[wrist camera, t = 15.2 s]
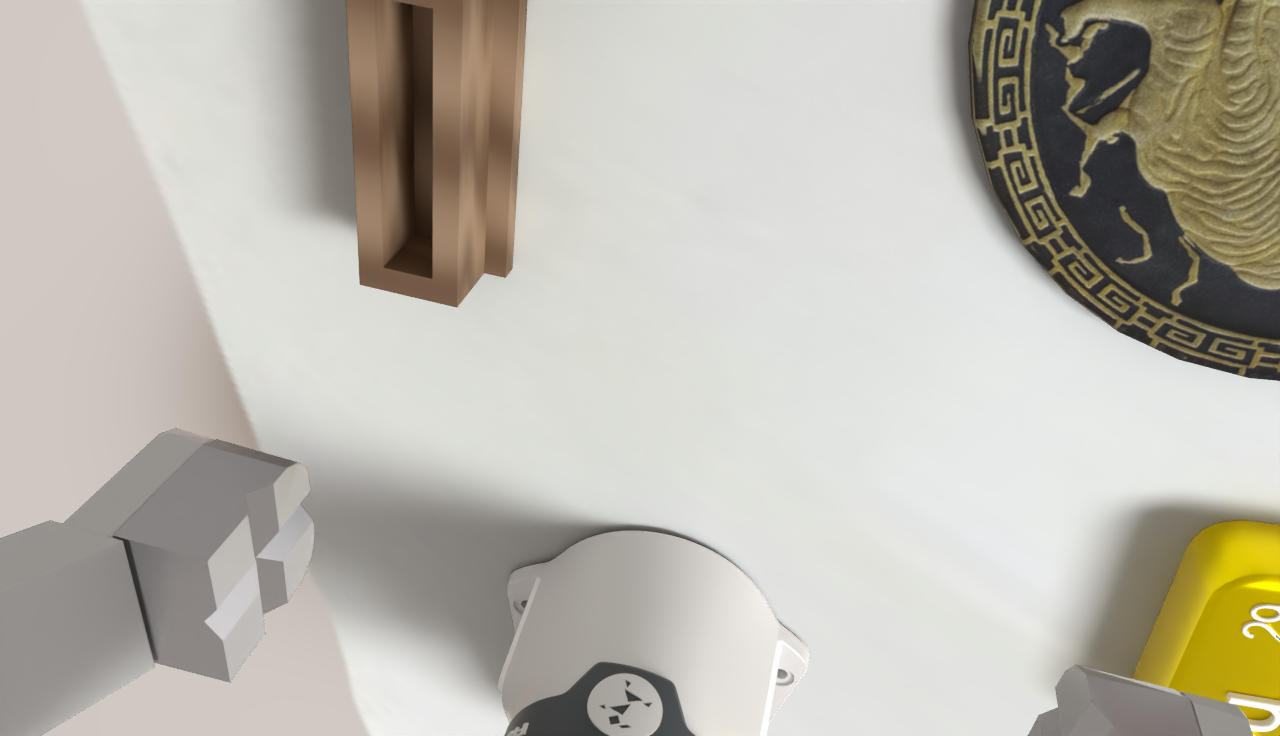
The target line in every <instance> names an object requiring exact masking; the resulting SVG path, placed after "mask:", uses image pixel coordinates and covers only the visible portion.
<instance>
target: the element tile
mask: <svg viewBox="0 0 1280 736" xmlns="http://www.w3.org/2000/svg"><path fill="white" fill-rule="evenodd" d="M1132 679H1135V680H1139V681H1143V682H1147V683H1151V684H1155V685H1159V686H1163V687H1167V688H1171V689H1174V690H1176V691H1178V692H1186V693H1190V694H1194V695H1198V696H1202V697H1206V698H1210V699H1214V700H1218V701H1222V702H1226V703H1230V704H1234V705H1237V706H1238V707H1239V708H1240V709H1241V711H1242V712H1243V713H1244V714H1245V715H1246V717H1247V719H1248V722H1249V725H1250V728H1251V731H1252V733H1253V736H1280V525H1277V524H1270V523H1262V522H1255V521H1248V520H1235V521H1228V522H1221V523H1217V524H1214V525H1212V526H1210V527H1207V528H1205V529H1203V530H1202V531H1201V532H1200V533H1199V534H1197V535H1196V536H1195V537H1194V538H1193V539H1192V540H1191V542H1190V543H1189V545H1188V546H1187V548H1186V551H1185V553H1184V556H1183V558H1182V560H1181V563H1180V565H1179V567H1178V570H1177V572H1176V575H1175V577H1174V579H1173V582H1172V584H1171V587H1170V589H1169V591H1168V594H1167V596H1166V599H1165V601H1164V603H1163V606H1162V608H1161V611H1160V613H1159V615H1158V618H1157V620H1156V622H1155V625H1154V627H1153V630H1152V632H1151V634H1150V637H1149V639H1148V642H1147V644H1146V646H1145V649H1144V651H1143V654H1142V656H1141V658H1140V661H1139V663H1138V666H1137V668H1136V670H1135V673H1134V675H1133V677H1132Z"/></svg>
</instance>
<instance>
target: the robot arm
mask: <svg viewBox="0 0 1280 736" xmlns="http://www.w3.org/2000/svg"><path fill="white" fill-rule="evenodd" d="M309 492H310V484H309V477H308V470H307V467H305V466H303V465H301V464H300V463H298V462H294V461H291V460H287V459H284V458H280V457H277V456H273V455H270V454H266V453H263V452H259V451H256V450H253V449H249V448H245V447H242V446H239V445H235V444H232V443H228V442H224V441H221V440H218V439H216V440H215V439H211V438H208V437H205V436H201V435H198V434H194V433H190V432H187V431H183V430H180V429H177V428H175V429H171V430H169V431H166V432H163V433H160V434H159V435H158V436H157V437H156V438H155V439H154V440H153V441H151V442H150V443H149V444H148V445H147V446H146V447H145V448H144V449H143V450H142V451H141V452H140V453H138V455H136V456H135V457H134V458H133V459H132V460H131V461H130V462H129V463H128V464H127V465H125V466H124V467H123V468H122V469H121V470H120V471H119V472H118V473H117V474H116V475H115V476H114V477H113V478H111V479H110V480H109V481H108V482H107V483H106V484H105V485H104V486H103V487H102V488H101V489H100V490H99V491H97V492H96V493H95V494H94V495H93V496H92V497H91V498H90V499H89V500H88V501H87V502H86V503H85V504H84V505H82V506H81V507H80V508H79V509H78V510H77V511H76V512H75V513H74V514H73V515H72V516H70V517H69V518H68V519H67V520H66V521H65V522H64V523H63V524H62V523H58V522H54V521H47V522H44V523H41V524H39V525H36V526H33V527H30V528H28V529H25V530H22V531H19V532H16V533H14V534H11V535H8V536H6V537H3V538H0V736H41V735H43V734H45V733H46V732H48V731H50V730H51V729H53V728H55V727H56V726H58V725H60V724H61V723H63V722H65V721H66V720H68V719H70V718H71V717H73V716H75V715H76V714H78V713H80V712H81V711H83V710H85V709H86V708H88V707H90V706H91V705H93V704H95V703H96V702H98V701H100V700H102V699H103V698H105V697H107V696H108V695H110V694H112V693H113V692H115V691H117V690H118V689H120V688H122V687H123V686H125V685H127V684H128V683H130V682H132V681H133V680H135V679H137V678H138V677H140V676H141V675H143V674H145V673H147V672H148V671H150V670H152V669H153V668H154V667H155V664H154V663H158V664H161V665H166V666H169V667H173V668H177V669H181V670H184V671H188V672H192V673H196V674H200V675H204V676H207V677H211V678H215V679H219V680H223V681H227V682H231V681H232V680H233V678H234V677H235V675H236V674H237V672H238V671H239V670H240V668H241V667H242V666H243V664H244V663H245V661H246V660H247V659H248V657H249V656H250V654H251V653H252V652H253V650H254V649H255V648H256V646H257V645H258V643H259V642H260V641H261V639H262V638H263V637H264V635H265V625H264V617H263V614H265V613H267V612H269V611H271V610H273V609H275V608H277V607H279V606H281V605H283V604H285V603H288V601H289V600H290V598H291V597H292V596H293V594H294V593H295V591H296V590H297V588H298V587H299V585H300V584H301V582H302V580H303V578H304V575H305V572H306V570H307V568H308V565H309V563H310V560H311V558H312V552H313V545H314V538H315V536H314V523H313V520H312V518H311V517H310V516H309V515H308V513H307V512H306V511H305V509H304V508H303V507H302V505H301V502H302V501H303V500H304V499H305V497H306V496H307V495H308V493H309ZM507 595H508V600H509V605H510V610H511V615H512V620H513V625H514V630H515V637H514V639H513V642H512V645H511V647H510V650H509V653H508V655H507V658H506V661H505V663H504V666H503V669H502V672H501V674H500V677H499V681H498V687H497V689H498V691H499V692H500V693H501V694H502V704H503V708H504V711H505V714H506V716H507V718H508V721H509V723H510V724H509V726H508V728H507V731H506V733H505V736H766V732H767V727H768V724H769V723H770V721H771V720H772V718H773V717H774V716H775V714H776V713H777V711H778V710H779V709H780V707H781V706H782V704H783V703H784V702H785V700H786V699H787V698H788V696H789V695H790V693H791V692H792V691H793V689H794V688H795V686H796V685H797V684H798V682H799V681H800V680H801V678H802V677H803V675H804V674H805V672H806V670H807V667H808V663H809V659H810V652H809V650H808V648H807V647H806V646H805V645H804V644H803V642H801V641H800V640H799V639H798V638H797V637H796V636H795V635H793V634H792V633H791V632H790V631H789V630H787V629H786V628H785V627H783V626H782V625H781V624H780V623H779V622H778V620H777V619H776V618H775V616H774V614H773V613H772V611H771V609H770V607H769V605H768V603H767V602H766V600H765V598H764V596H763V595H762V593H761V592H760V591H759V589H758V588H757V587H756V585H755V584H754V583H753V582H752V581H751V580H750V579H749V578H748V577H747V576H746V575H745V574H744V573H743V572H742V571H741V570H740V569H739V568H737V567H736V566H735V565H733V564H732V563H731V562H729V561H728V560H726V559H725V558H724V557H722V556H720V555H719V554H717V553H715V552H713V551H711V550H709V549H707V548H705V547H703V546H701V545H699V544H696V543H694V542H691V541H688V540H685V539H682V538H679V537H676V536H672V535H667V534H663V533H657V532H649V531H615V532H608V533H603V534H599V535H595V536H592V537H589V538H587V539H584V540H582V541H580V542H578V543H576V544H574V545H573V546H571V547H569V548H568V549H567V550H565V551H564V552H563V553H562V554H560V555H559V556H558V557H556V558H554V559H553V560H551V561H549V562H546V563H540V564H535V565H530V566H526V567H522V568H520V569H517V570H515V571H514V572H513V573H512V574H511V576H510V579H509V583H508V586H507ZM1055 690H1056V696H1057V703H1058V708H1055V709H1053V710H1050V711H1048V712H1045V713H1043V714H1041V715H1039V716H1038V718H1037V719H1036V721H1035V723H1034V725H1033V727H1032V729H1031V731H1030V733H1029V734H1028V736H1253V733H1252V731H1251V728H1250V725H1249V722H1248V719H1247V717H1246V715H1245V714H1244V713H1243V712H1242V711H1241V709H1240V708H1239V707H1238V706H1237V705H1234V704H1230V703H1226V702H1222V701H1218V700H1214V699H1210V698H1206V697H1202V696H1198V695H1194V694H1190V693H1186V692H1178V691H1176V690H1174V689H1171V688H1167V687H1163V686H1159V685H1155V684H1151V683H1147V682H1143V681H1139V680H1135V679H1131V678H1127V677H1123V676H1119V675H1115V674H1111V673H1107V672H1103V671H1099V670H1095V669H1091V668H1087V667H1083V666H1079V665H1074V666H1073V667H1071V668H1070V669H1068V670H1067V671H1065V673H1064V674H1063V676H1062V677H1061V679H1060V681H1059V682H1058V684H1057V686H1056V687H1055Z"/></svg>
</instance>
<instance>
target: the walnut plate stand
mask: <svg viewBox="0 0 1280 736" xmlns="http://www.w3.org/2000/svg"><path fill="white" fill-rule="evenodd" d="M346 7H347V27H348V48H349V69H350V90H351V111H352V131H353V152H354V173H355V194H356V215H357V235H358V256H359V277H360V285H364V286H368V287H372V288H377V289H381V290H385V291H389V292H394V293H398V294H402V295H406V296H411V297H415V298H419V299H423V300H428V301H432V302H436V303H440V304H445V305H449V306H453V307H458V305H459V304H460V303H461V302H462V300H463V299H464V298H465V297H466V295H467V294H468V293H469V292H470V290H471V289H472V288H473V286H474V285H475V284H476V283H477V281H478V280H479V279H480V278H481V276H482V275H483V274H484V273H487V274H491V275H496V276H500V277H504V278H506V276H507V275H508V274H509V272H510V271H511V270H512V265H513V247H514V229H515V211H516V193H517V175H518V158H519V140H520V122H521V104H522V86H523V68H524V50H525V32H526V14H527V0H346Z"/></svg>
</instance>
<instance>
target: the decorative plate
mask: <svg viewBox="0 0 1280 736" xmlns="http://www.w3.org/2000/svg"><path fill="white" fill-rule="evenodd" d="M968 48H969V70H970V92H971V114H972V119H973V123H974V127H975V131H976V134H977V138H978V142H979V145H980V149H981V153H982V157H983V160H984V164H985V168H986V172H987V175H988V179H989V182H990V185H991V187H992V189H993V191H994V192H995V194H996V196H997V198H998V200H999V202H1000V204H1001V205H1002V207H1003V209H1004V211H1005V213H1006V215H1007V217H1008V219H1009V220H1010V222H1011V224H1012V226H1013V228H1014V230H1015V232H1016V234H1017V235H1018V237H1019V239H1020V241H1021V242H1022V244H1023V245H1024V246H1025V247H1026V248H1027V250H1028V251H1029V252H1030V253H1031V254H1032V255H1033V256H1034V257H1035V259H1036V260H1037V261H1038V262H1039V263H1040V264H1041V265H1042V267H1043V268H1044V269H1045V270H1046V271H1047V272H1048V273H1049V275H1050V276H1051V277H1052V278H1053V279H1054V280H1055V281H1056V282H1057V284H1058V285H1059V286H1060V287H1061V288H1062V289H1063V290H1064V292H1065V293H1066V294H1068V295H1069V296H1070V297H1072V298H1073V299H1074V300H1076V301H1077V302H1079V303H1080V304H1081V305H1083V306H1084V307H1085V308H1087V309H1088V310H1089V311H1091V312H1092V313H1094V314H1095V315H1096V316H1098V317H1099V318H1100V319H1102V320H1103V321H1104V322H1106V323H1107V324H1109V325H1110V326H1111V327H1113V328H1114V329H1115V330H1117V331H1118V332H1120V333H1123V334H1125V335H1127V336H1129V337H1131V338H1133V339H1136V340H1138V341H1140V342H1142V343H1144V344H1146V345H1149V346H1151V347H1153V348H1155V349H1157V350H1159V351H1161V352H1164V353H1166V354H1168V355H1170V356H1172V357H1174V358H1177V359H1179V360H1183V361H1186V362H1190V363H1194V364H1198V365H1202V366H1206V367H1209V368H1213V369H1217V370H1221V371H1225V372H1228V373H1232V374H1236V375H1240V376H1244V377H1248V378H1256V379H1267V380H1278V381H1280V0H975V3H974V9H973V16H972V22H971V28H970V35H969V41H968Z"/></svg>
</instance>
